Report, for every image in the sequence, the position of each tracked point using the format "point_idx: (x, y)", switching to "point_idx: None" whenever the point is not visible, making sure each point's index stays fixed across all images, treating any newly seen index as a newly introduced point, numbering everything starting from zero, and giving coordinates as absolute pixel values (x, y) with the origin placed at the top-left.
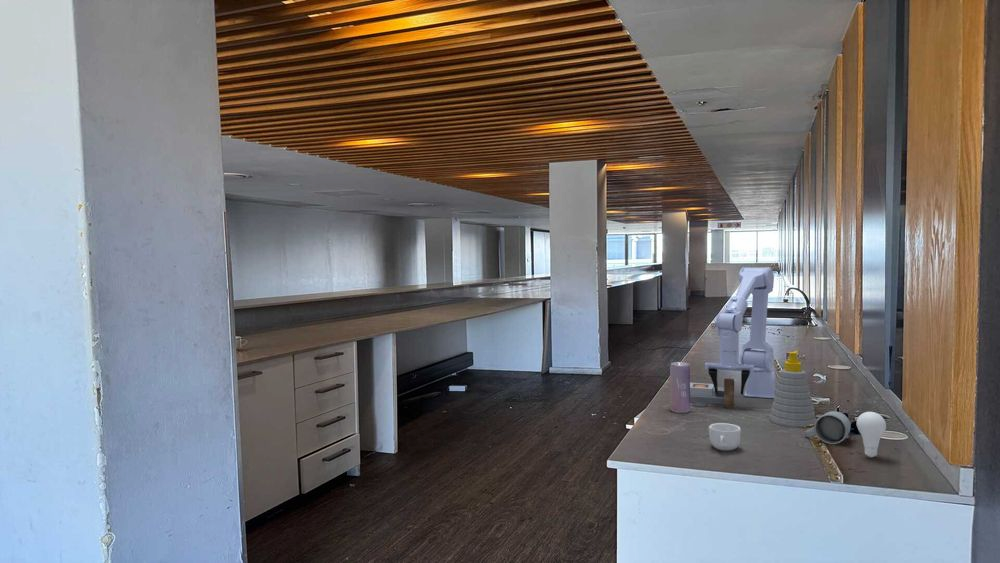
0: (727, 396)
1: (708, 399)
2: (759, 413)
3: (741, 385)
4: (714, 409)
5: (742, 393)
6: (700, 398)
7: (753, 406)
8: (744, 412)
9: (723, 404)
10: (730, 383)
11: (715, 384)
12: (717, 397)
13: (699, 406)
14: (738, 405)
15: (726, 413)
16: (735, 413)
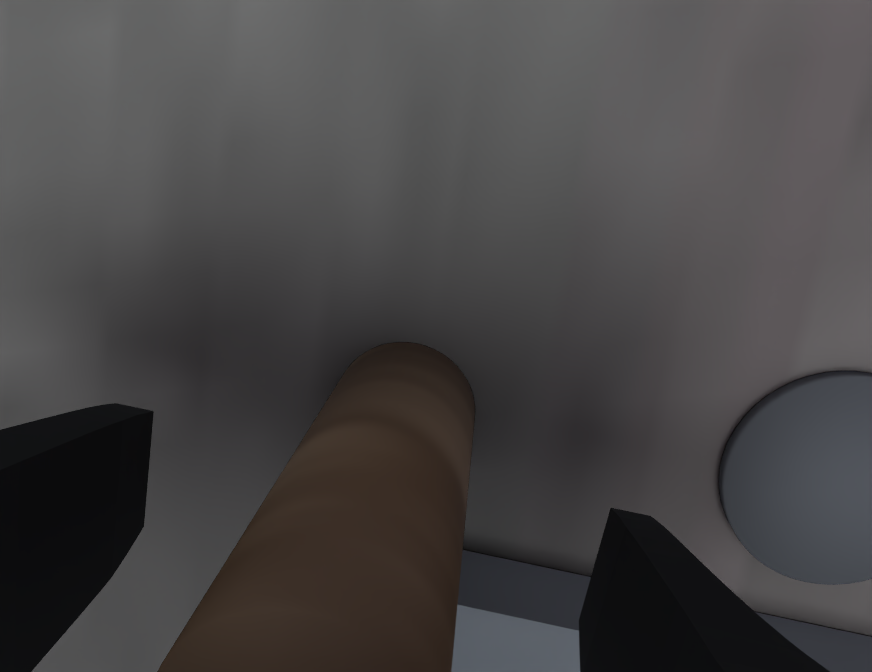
0: (417, 422)
1: None
2: (4, 98)
3: (18, 459)
4: (647, 264)
5: (108, 405)
6: None
7: None
8: (214, 130)
9: (464, 552)
10: (291, 552)
11: (701, 594)
12: (542, 668)
13: (867, 378)
14: None
15: (500, 19)
16: (356, 42)
